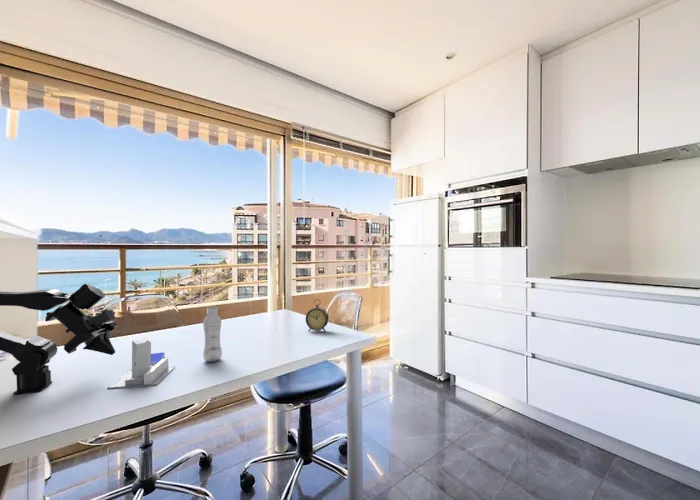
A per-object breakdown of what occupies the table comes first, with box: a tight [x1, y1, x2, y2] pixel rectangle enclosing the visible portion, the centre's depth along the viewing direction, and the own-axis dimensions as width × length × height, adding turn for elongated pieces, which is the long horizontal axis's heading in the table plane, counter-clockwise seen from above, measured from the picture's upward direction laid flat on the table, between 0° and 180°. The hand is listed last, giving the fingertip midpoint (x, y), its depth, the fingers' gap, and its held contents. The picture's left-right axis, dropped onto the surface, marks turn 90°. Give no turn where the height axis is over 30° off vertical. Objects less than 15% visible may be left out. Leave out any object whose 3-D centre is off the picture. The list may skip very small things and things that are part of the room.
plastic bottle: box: [202, 306, 223, 363], centre depth 116 cm, size 6×7×20 cm
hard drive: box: [151, 351, 166, 366], centre depth 114 cm, size 2×8×12 cm
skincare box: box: [131, 337, 152, 378], centre depth 102 cm, size 6×4×12 cm
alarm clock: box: [305, 298, 329, 333], centre depth 154 cm, size 11×5×16 cm, turn 81°
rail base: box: [107, 357, 176, 390], centre depth 102 cm, size 14×14×4 cm
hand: (113, 353), depth 100 cm, fingers closed
